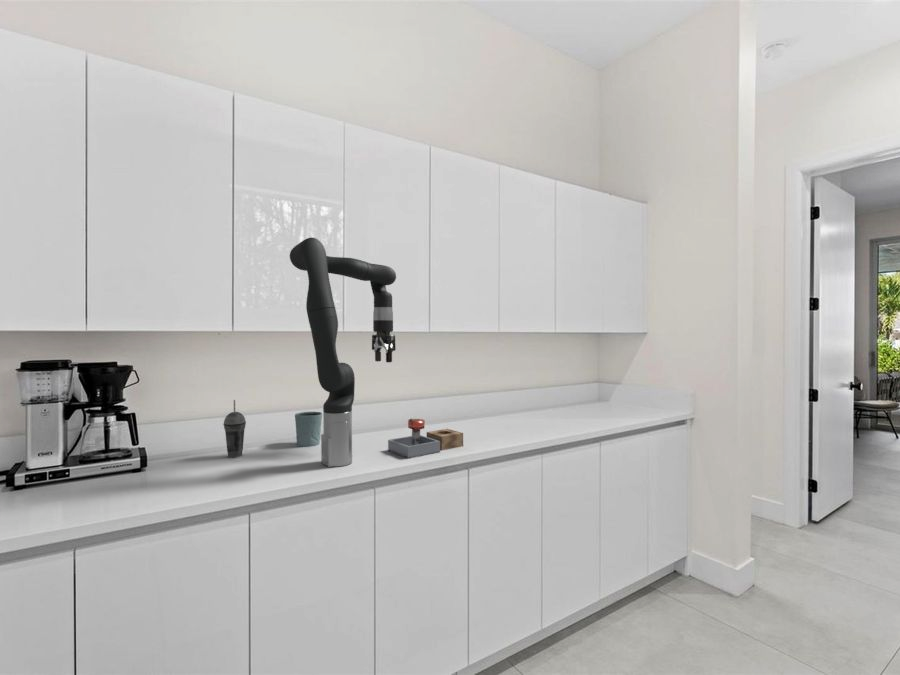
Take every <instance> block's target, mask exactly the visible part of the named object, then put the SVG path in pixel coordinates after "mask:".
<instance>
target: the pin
mask: <svg viewBox="0 0 900 675" xmlns="http://www.w3.org/2000/svg"><path fill="white" fill-rule="evenodd" d="M425 423H426V422H425V419H420V418H410V419H408V421H407V428H408V429H411V436H412V445H418V444H420V435H421V430H423V429H425ZM412 445H411V446H412Z"/></svg>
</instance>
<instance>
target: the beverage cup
mask: <svg viewBox="0 0 900 675" xmlns="http://www.w3.org/2000/svg"><path fill="white" fill-rule="evenodd" d="M246 423H247V422H246V418H245V416H244V415H243V414H242V413H241V412H239V411H236V399H233V411H231V412H230V413H228V414H227V415H226V416H225V418H224V420H223V428H224V433H225V442H226V450H227V457H228V458H229V459H233V458H240V457H242V456H243V452H244V440H245V438H244V437H245V429H246V425H247V424H246Z"/></svg>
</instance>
